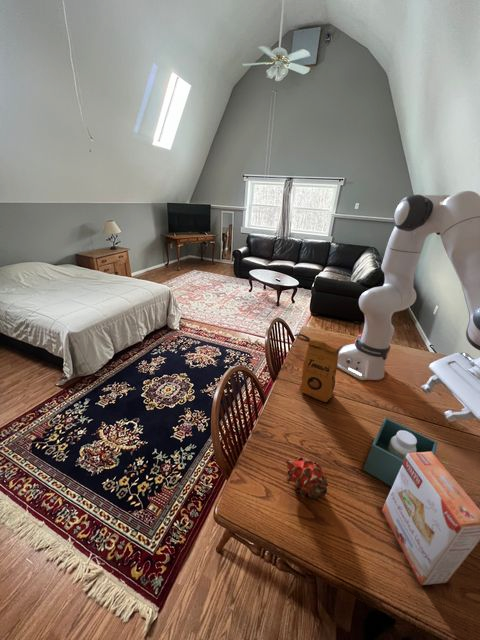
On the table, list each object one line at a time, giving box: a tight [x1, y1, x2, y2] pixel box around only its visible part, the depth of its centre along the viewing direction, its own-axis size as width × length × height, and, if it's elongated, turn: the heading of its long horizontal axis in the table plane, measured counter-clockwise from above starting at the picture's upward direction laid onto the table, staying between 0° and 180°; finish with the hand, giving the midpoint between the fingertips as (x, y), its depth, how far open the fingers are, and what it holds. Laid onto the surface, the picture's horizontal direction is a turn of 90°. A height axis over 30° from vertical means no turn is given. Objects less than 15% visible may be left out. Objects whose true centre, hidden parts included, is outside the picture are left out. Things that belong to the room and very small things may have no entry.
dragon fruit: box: [285, 456, 329, 501], centre depth 68 cm, size 8×8×12 cm
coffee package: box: [298, 338, 339, 403], centre depth 98 cm, size 10×12×22 cm
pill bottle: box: [387, 430, 417, 460], centre depth 73 cm, size 6×6×11 cm
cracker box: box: [381, 452, 480, 586], centre depth 54 cm, size 14×6×21 cm, turn 5°
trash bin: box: [362, 417, 439, 488], centre depth 73 cm, size 13×13×10 cm
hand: (434, 403), depth 65 cm, fingers open, 8 cm apart
